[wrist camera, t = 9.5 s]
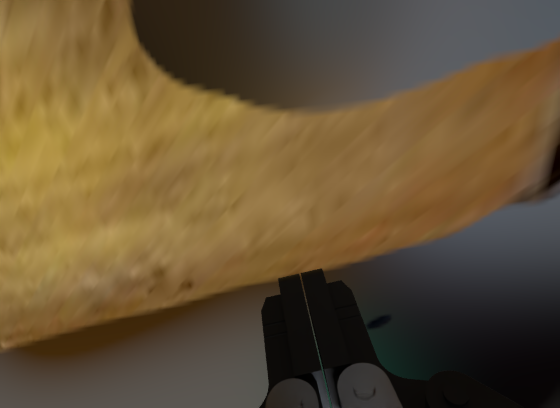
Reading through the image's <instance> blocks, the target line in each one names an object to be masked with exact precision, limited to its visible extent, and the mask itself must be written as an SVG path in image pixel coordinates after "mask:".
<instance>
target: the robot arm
mask: <svg viewBox="0 0 560 408" xmlns="http://www.w3.org/2000/svg"><path fill="white" fill-rule="evenodd" d="M301 276H302V281H303V285H304V290H305V293H306V299H307V303H308V307H309V312H310V316H311V320H312V324H313V329H314V333H315V337H316V341H317V345H318V350H319V354H320V358H321V362H322V366H323V371H324V375H325V379H326V383H327V387H328V391H329V396H330V400H331V404H332V408H524V407H522V406H520V405H519V404H517V403H515V402H513V401H512V400H510V399H508V398H506V397H505V396H503V395H501V394H499V393H498V392H496V391H494V390H492V389H490V388H489V387H487V386H485V385H483V384H481V383H480V382H478V381H476V380H475V379H473V378H471V377H469V376H467V375H465V374H463V373H460V372H457V371H442V372H438V373H436V374H435V375H433V376H432V377H431V378H430V379H429V381H425V380H414V379H406V378H402V377H398V376H396V375H394V374H392V373H390V372H389V371H387V370H386V369H385V368H384V367H383V366H382V365H381V363H380V362H379V360H378V358H377V356H376V353H375V351H374V348H373V345H372V343H371V340H370V337H369V335H368V332H367V330H366V327H365V324H364V322H363V319H362V317H361V314H360V311H359V309H358V306H357V303H356V301H355V298H354V295H353V293H352V291H351V289H350V288H348V287H347V286H346V285H345V284H344V283H343V282H342V281H336V282H332V283H328V284H327V283H326V280H325V277H324V273H323V270H322V268H321V269H317V270H312V271H308V272H304V273H301ZM278 281H279V287H280V293H281V294H280V295H275V296H271V297H267V298H266V299H265V302H264V305H263V308H262V311H261V314H262V323H263V333H264V342H265V352H266V361H267V370H268V380H269V388H268V393H267V396H266V398H265V400H264V402H263V403H262V405H261V406H260V407H259V408H330V405H329V400H328V396H327V391H326V387H325V382H324V378H323V373H322V369H321V365H320V361H319V356H318V352H317V348H316V344H315V340H314V335H313V331H312V327H311V322H310V318H309V314H308V310H307V305H306V302H305V297H304V293H303V289H302V284H301V280H300V276H299V274H295V275H291V276H287V277H282V278H278Z"/></svg>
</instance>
